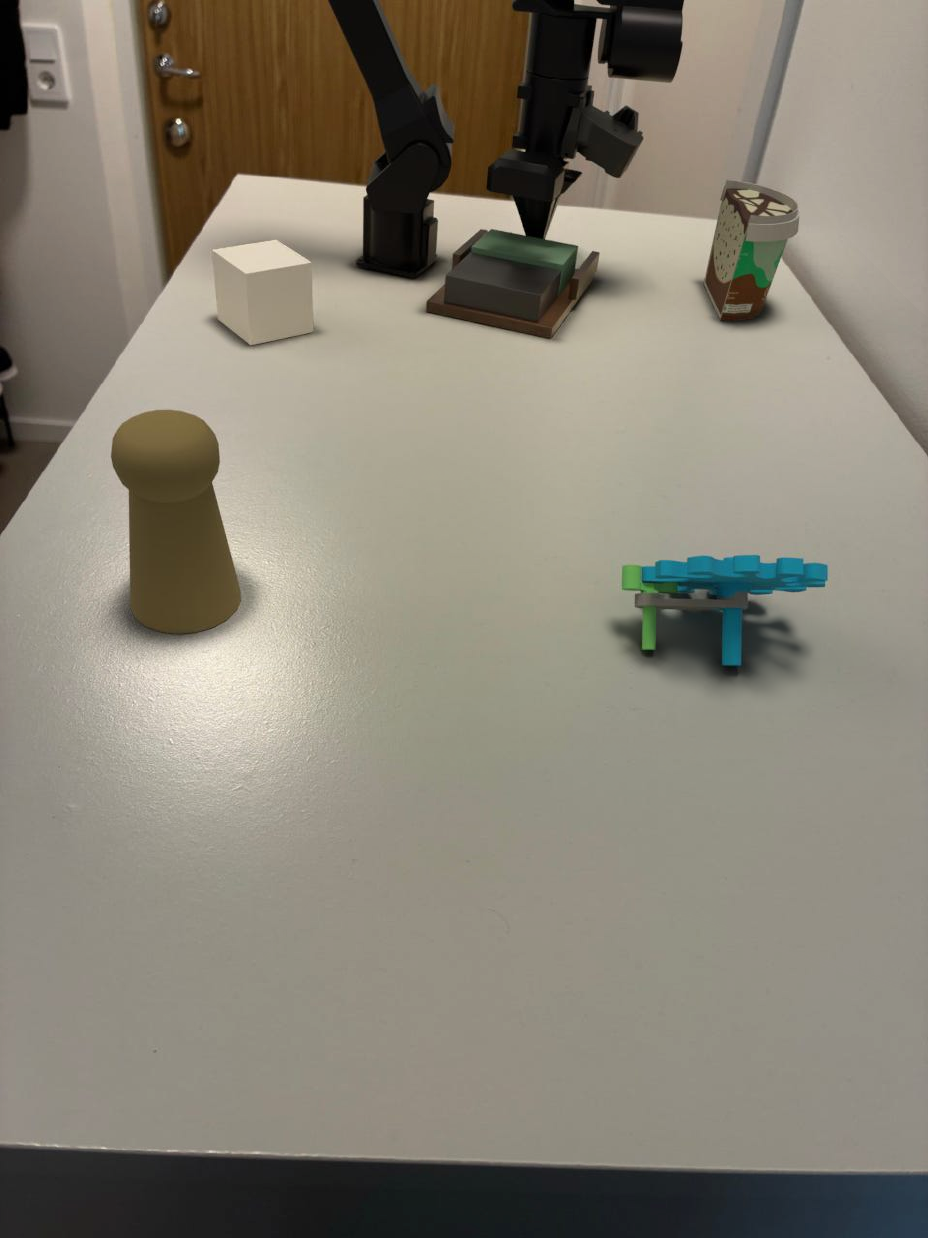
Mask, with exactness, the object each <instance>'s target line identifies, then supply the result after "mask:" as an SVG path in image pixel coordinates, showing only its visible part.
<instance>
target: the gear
mask: <svg viewBox="0 0 928 1238" xmlns="http://www.w3.org/2000/svg"><path fill="white" fill-rule="evenodd" d="M828 573H829V565H828V564H826V563H821V562H806V563H804V558H803V557H802V558H801V557H778V558H776V562H761V555H758V554H739V555H733V556H729V557H727V556H726V557H723V559H718V558H715V557H713V556H711V555H697V556H689V557H686V561H679V560H673V559H659V560H657V561H655V562H654V565H644V566H642V565H639V564H623V565H622V566H621V590H622V591H628V592H629V591H630V592H636V591H638V593H635V594H634V608H636V609H642V620H641V621H642V622H641V623H642V626H641V650H642V651H643V650H644V651H656V643H657V642H656V641H657V640H656V639H657V610H683V611H685V610H687V611H690V610H691V611H722V625H721V626H722V627H721V628H722V629H721V630H722V632H721V633H722V634H721V635H722V636H721V638H722V639H721V666H725V667H726V666H728V667H730V666H731V667H740V666H741V667H742V635H743V634H742V631H743V630H742V628H743V627H742V625H743V624H742V623H743V613H742V612H743V611H746V610H748V609H749V604H748V603H749V602H748V601H749V595H752V596H753V595H754V596H761V595H772V594H774V593H773V592H774V591H779V592H785V593H801V592H806V591H807V588H825V587H826V582H827V581H829V578H828V577H829V574H828ZM696 590H706V591H709V593H708V594H709V595H711V596H716V599H713V598H712V599H711V598H709V599H708V598H707V599H706V598H704V599H703V598H665V595H674V594H679V593H680V594H694V593H695V592H696Z"/></svg>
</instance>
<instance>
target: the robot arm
mask: <svg viewBox="0 0 928 1238" xmlns="http://www.w3.org/2000/svg"><path fill="white" fill-rule="evenodd" d="M595 1H596V2H597V3H598V4H599V5H602V6H593V5H585V4H577V3H575V0H510V4H511V7H512V8H511V9H512V10H513V11H514V12H518V13H530V14H531V15H530V24H529V35H528V44H527V52H526V53H527V54H526V64H525V70H524V71H525V73H524V81H523V82H521V83H520V84H518V85H517V92H516V98H517V99H521V100H522V102H521V109H520V110H521V111H520V120H519V131H517V132H516V133H515V134H513V135H512V141H511V148H510V149H508V150H507V151H506V152H504V153H503V154H501V156H499V157H498V158H497V159H496V160H494V161H493V162H492V163H491V164H490V165H488V167H487V175H486V177H487V178H486V185H485V186H486V187H485V189H486V190H487V191H489V192H491V193H496V194H501V195H507V196H512V199H513V201H514V205H515V207H516V210H517V213H518V216H519V219H520V222H521V225H522V229H523V232H524V235H525V236H530V237H535V238H540V239H546V238H547V235H548V231H549V230H550V227H551V224H552V221H553V218H554V216H555V213H556V210H557V207H558V205H559V202H560V199H561V197H562V195H563V194H565V193H566V192H567V191H568V190H569V189H570V188H571V187H573V184H574V183H576V181H578V180H579V178H581V177H582V175H583V172H582V171H580V170H577V169H570V168H569V166H570V161H569V160H568V159H570V160H574V159H576V155H577V153H579V155H581V156H582V157H583V158H584V159H585V161H588V162H592V163H594V164H595V165H597V166H598V167H600V168H602V169H603V170H604V172H605V173H606V174H607V175H608V176H610V177H613V178H616V179H620V178H622V176H624V173H625V172H626V171H627V170H628V169H629V166H630V165H631V163H632V161H633V159H634V157H635V156H636V153H637V152H638V150H639V148H640V146H641V144H642V143H643V141H644V136H643V134H644V132H643V131H642V130H638V129H639V115H640V114H639V112H638V111H637V110H635V109H633V108H632V107H630V106H628V105H624V106H623V107H622V108H620V109H619V110H618V111H616V112H615V113H614V114H612V115H611V112H610V111H609V110H604V111H603V110H601V109H599V108H598V107H596V106H594V99H595V90H593V85H589V78H590V72H591V71H590V70H591V65H592V64H591V63H592V57H593V50H594V44H595V35H596V27H597V23H598V20H601V25H600V30H599V38H598V45H597V46H598V47H597V64H598V65H605V64H607V67H606V69H607V77H608V78H609V79H618V80H619V79H620V80H621V79H622V80H631V81H643V82H656V83H665V84H666V83H667V84H670V83H673V81H674V79H675V77H676V74H677V71H678V68H679V64H680V60H681V56H682V51H683V44H684V43H683V41H682V35H683V34H682V33H683V23H684V22H683V21H684V20H683V19H684V18H683V8H684V4H685V0H595ZM327 2H328V4H329V6H330V8H331V10H332V12H333V15H334V17H335V19H336V21H337V23H338V26H339V28H340V30H341V31H342V34H343V36H344V38H345V41H346V43H347V46H348V48H349V49H350V52H351V54H352V56H353V58H354V60H355V63H356V65H357V66H358V69H359V71H360V73H361V75H362V78H363V80H364V82H365V85H366V87H367V89H368V91H369V92H370V96H371V99H372V102H373V106H374V110H375V113H376V114H375V115H376V121H377V124H378V129H379V133H380V137H381V141H382V145H383V148H384V152H383V153H382V154H381V155H380V156H378V157H377V159H375V160H374V161H373V163H372V164H371V165H372V166H371V169H370V173H369V176H368V180H367V183H366V187H365V192H366V195H364V196H363V197H362V255H361V256H359V257H358V258H356V259H355V266H357V267H360V268H365V269H369V270H373V271H374V270H375V271H379V272H384V273H389V274H393V275H399V276H402V277H408V278H417V277H418V276H419V275H421V274H422V273H423V272H424V271H425V270H426V269H427V268H429V267H430V266H431V265H433V263H435V262H436V261H437V259H438V254H437V245H438V232H439V231H438V228H439V219H438V217H435V216H434V213H435V200H434V199H430V198H429V196H430V193H433V192H435V191H437V190H438V189H440V188H441V187H442V186H443V185H444V183H445V182H446V181H447V179H448V178H449V176H450V173H451V169H452V166H453V165H452V161H453V144H454V142H455V121H453V120H452V119H451V118H450V117H449V115H448V114H447V112H446V110H445V108H444V105H443V102H442V97H441V93H440V90H439V86H438V83H433V84H431V85H430V86H429V87H427V88H426V89H425V90H424V89H423V87H422V86H421V85H420V84H419V82H418V81H417V80H416V78H415V77H414V76H413V74H412V72H411V71H410V69H409V67H408V64H407V63H406V60H405V58H404V55H403V53H402V50H401V48H400V46H399V44H398V42H397V39H396V36H395V34H394V32H393V30H392V27H391V26H390V23H389V20H388V19H387V15H386V14H385V12H384V9H383V7H382V5H381V2H380V0H327ZM604 6H605V7H604ZM606 6H609V7H606ZM512 148H513V149H512ZM517 149H519V150H517ZM523 150H524V151H523Z"/></svg>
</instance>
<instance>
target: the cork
mask: <svg viewBox="0 0 928 1238" xmlns="http://www.w3.org/2000/svg"><path fill="white" fill-rule="evenodd" d="M110 459H111V465H112V467H113V470H114V472H115V474H116V475H117V478H118V479H119V481H120V483H121V485H122V486H123V487H125V488H126V489H127V490H128V539H129V545H128V546H129V608H130V610H131V612H132V614H133V616H134V617H133V618H134V619H135V620H137V621H138V622H139V623H141V624H142V625H143V626H145V627H146V628H149V629H151V630H154V631H156V632H160V633H167V634H175V635H176V634H177V635H182V634H191V633H192V634H193V633H199V632H202V631H206V630H208V629H209V630H210V629H212V628H215V627H216V626H218V625H220V624H223V622H226V621H227V620H229V618H230V617H231V616H232V615H233V614H234V613H236V612H237V610H238V608H239V606H240V604H241V601H242V595H241V594H242V592H241V586H240V583H239V580H238V575H237V572H236V568H235V564H234V561H233V557H232V553H231V548H230V545H229V544H230V543H229V542H228V538H227V532H226V530H225V526H224V523H223V518H222V514H221V511H220V508H219V503H218V500H217V496H216V492H215V488H214V484H213V481H214V480H215V478H216V477H217V474H218V473H219V468H220V463H221V458H220V445H219V441H218V438H217V435H216V433H215V432H214V431H213V429H212V428H211V427H210V426H209V424H208V423H207V422H206V421H205V420H204V419H203V418H201V417H200V416H197V415H196V414H193V413H189V412H185V411H183V410H176V409H155V410H154V409H153V410H148V411H145V412H141V413H139V414H135V415H133V416H132V417H129V418H128V419H126V420H125V421H123V422H122V423H121V424H120V425H119V427H118V428H117V430H116V431H115V432H114V435H113V437H112V441H111V452H110Z"/></svg>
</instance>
